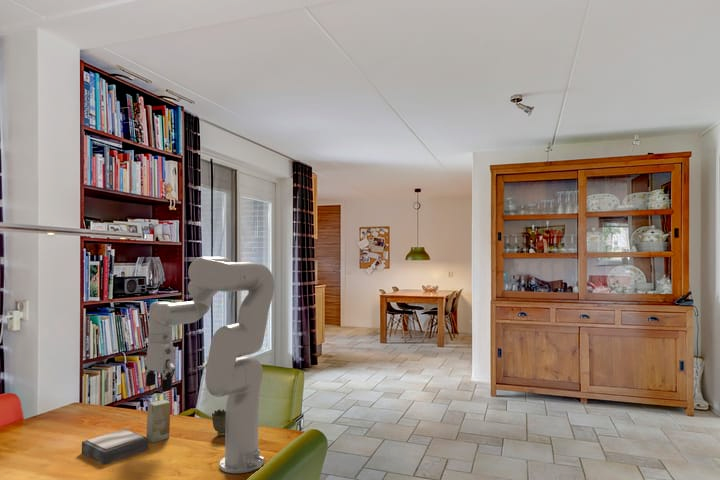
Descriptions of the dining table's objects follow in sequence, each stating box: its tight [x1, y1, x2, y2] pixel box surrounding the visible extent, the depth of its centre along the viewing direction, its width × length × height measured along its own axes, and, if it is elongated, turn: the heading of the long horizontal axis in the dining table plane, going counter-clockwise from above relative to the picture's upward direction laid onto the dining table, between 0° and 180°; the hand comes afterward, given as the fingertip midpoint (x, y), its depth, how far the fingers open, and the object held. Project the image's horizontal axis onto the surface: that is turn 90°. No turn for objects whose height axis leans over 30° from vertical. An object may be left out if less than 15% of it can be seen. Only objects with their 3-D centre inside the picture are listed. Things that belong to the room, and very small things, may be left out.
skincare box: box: [145, 399, 171, 443], centre depth 161 cm, size 6×4×12 cm
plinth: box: [81, 428, 150, 466], centre depth 150 cm, size 14×14×4 cm
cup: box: [211, 409, 226, 437], centre depth 164 cm, size 8×7×8 cm
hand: (158, 388), depth 161 cm, fingers open, 9 cm apart
